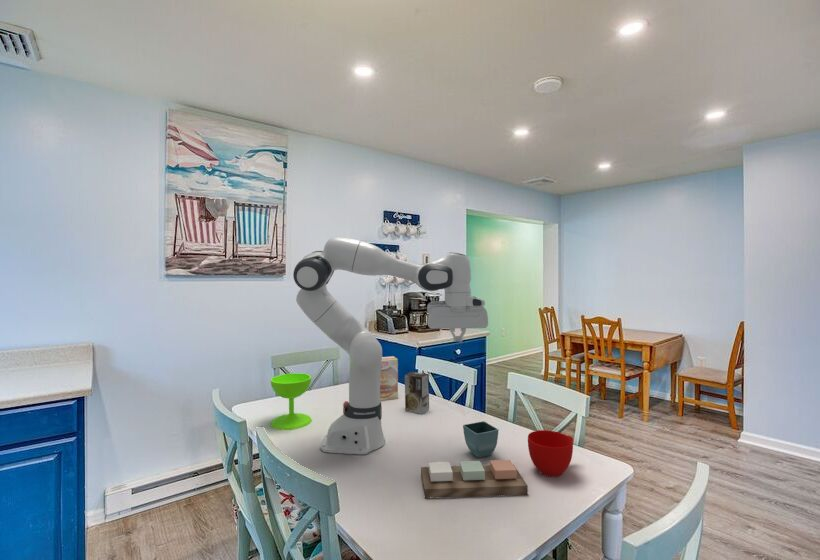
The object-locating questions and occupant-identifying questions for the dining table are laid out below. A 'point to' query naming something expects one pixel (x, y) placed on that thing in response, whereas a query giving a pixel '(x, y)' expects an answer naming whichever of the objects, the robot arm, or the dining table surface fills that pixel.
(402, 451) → the dining table surface
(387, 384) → the coffeecake box
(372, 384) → the robot arm
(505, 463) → the pink square block
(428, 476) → the button board
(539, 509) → the dining table surface
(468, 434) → the flower pot
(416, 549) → the dining table surface
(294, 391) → the wineglass
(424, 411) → the coffee box
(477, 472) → the sage tile
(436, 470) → the white square block
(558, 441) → the ceramic cup
